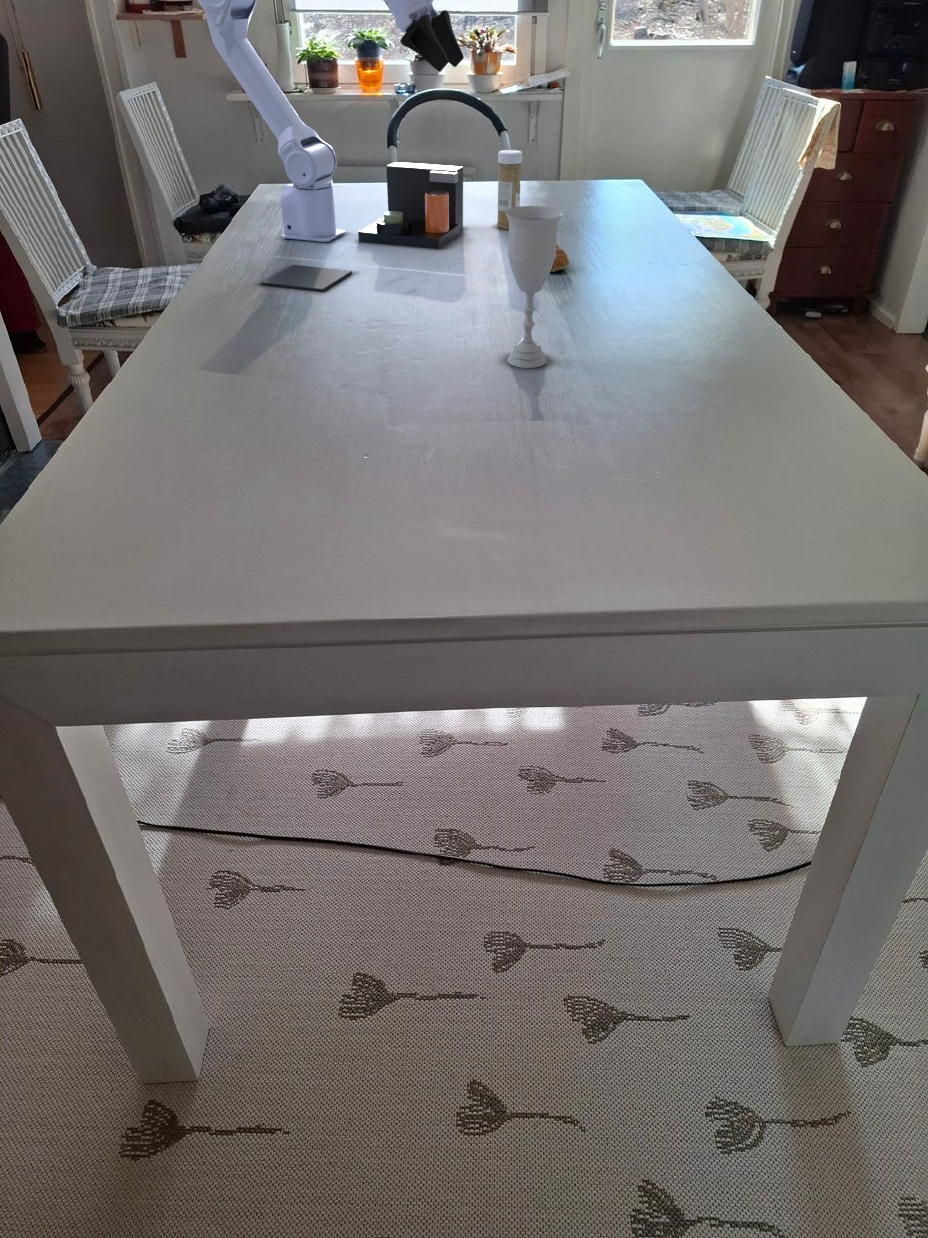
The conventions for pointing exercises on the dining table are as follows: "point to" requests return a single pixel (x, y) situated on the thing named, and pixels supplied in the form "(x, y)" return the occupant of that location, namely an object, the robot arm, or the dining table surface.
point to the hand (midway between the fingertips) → (451, 64)
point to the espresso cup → (437, 211)
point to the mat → (307, 278)
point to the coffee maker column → (424, 189)
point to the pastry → (560, 260)
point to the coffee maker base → (407, 234)
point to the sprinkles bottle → (508, 184)
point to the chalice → (531, 269)
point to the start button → (393, 217)
